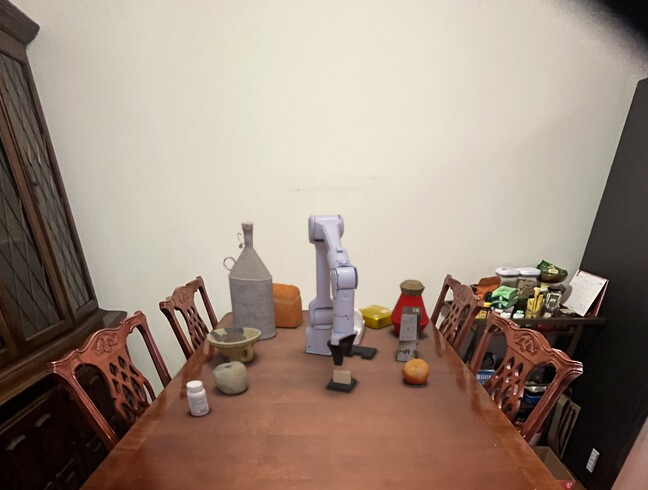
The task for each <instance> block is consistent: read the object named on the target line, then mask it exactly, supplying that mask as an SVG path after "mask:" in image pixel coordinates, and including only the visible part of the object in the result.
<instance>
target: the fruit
mask: <svg viewBox="0 0 648 490" xmlns="http://www.w3.org/2000/svg"><path fill="white" fill-rule="evenodd" d="M401 373H402V376H403V378H404V380H405V381H406V383H407V384H410V385H423V384H425V383H426V382H427V380H428V378H429V376H430V375H429V374H430V366H429V363H427V362H426V361H425V360H424V359H423V358H416V359H412V360H409V361H405V362H404V364H403V366H402V368H401Z"/></svg>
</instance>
